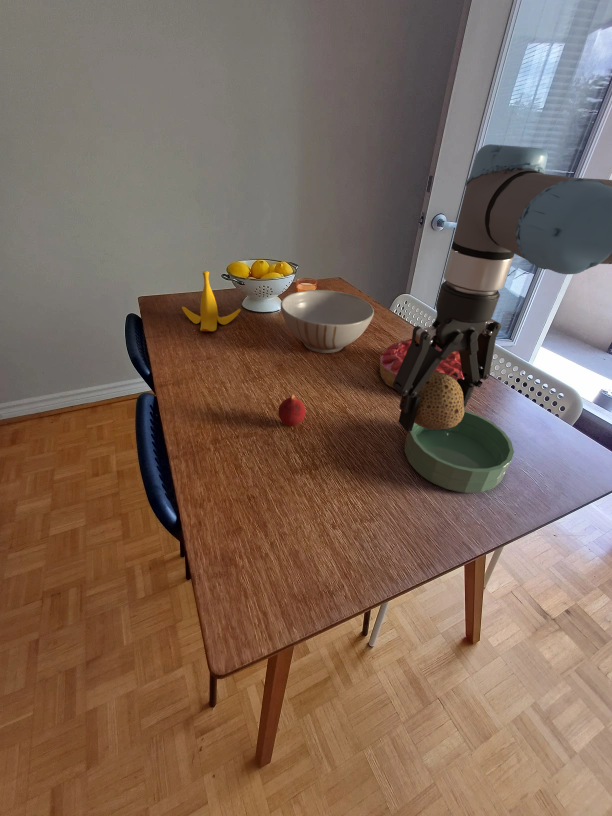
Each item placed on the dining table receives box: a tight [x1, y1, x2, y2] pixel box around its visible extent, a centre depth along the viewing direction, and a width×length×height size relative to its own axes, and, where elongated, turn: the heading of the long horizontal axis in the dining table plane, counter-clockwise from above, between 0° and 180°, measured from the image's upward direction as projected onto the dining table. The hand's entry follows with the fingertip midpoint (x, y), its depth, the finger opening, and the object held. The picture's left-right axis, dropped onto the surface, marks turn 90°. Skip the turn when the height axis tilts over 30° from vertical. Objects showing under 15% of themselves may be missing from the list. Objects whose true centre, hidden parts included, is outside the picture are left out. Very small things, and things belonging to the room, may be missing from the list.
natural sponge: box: [412, 372, 464, 429], centre depth 63 cm, size 9×9×10 cm
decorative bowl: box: [280, 289, 375, 354], centre depth 117 cm, size 27×27×12 cm
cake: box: [379, 338, 464, 389], centre depth 106 cm, size 25×25×8 cm
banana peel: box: [181, 270, 242, 332], centre depth 121 cm, size 17×19×17 cm
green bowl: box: [403, 409, 515, 494], centre depth 80 cm, size 20×20×6 cm
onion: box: [277, 393, 306, 427], centre depth 85 cm, size 6×6×8 cm
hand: (430, 420), depth 65 cm, fingers closed on natural sponge, 9 cm apart
